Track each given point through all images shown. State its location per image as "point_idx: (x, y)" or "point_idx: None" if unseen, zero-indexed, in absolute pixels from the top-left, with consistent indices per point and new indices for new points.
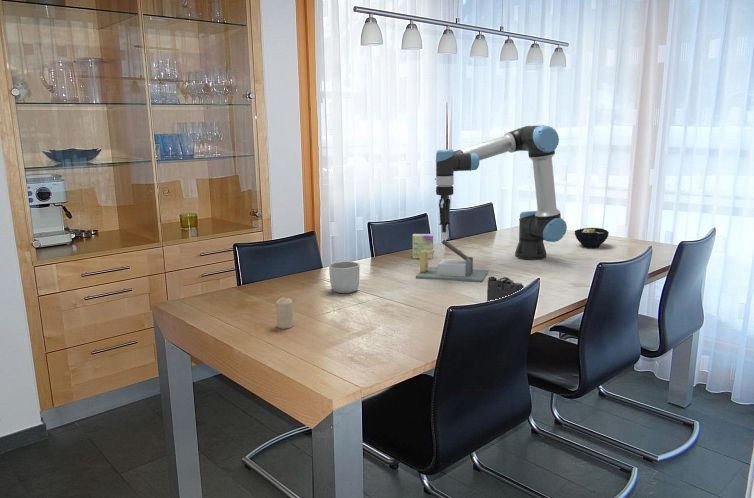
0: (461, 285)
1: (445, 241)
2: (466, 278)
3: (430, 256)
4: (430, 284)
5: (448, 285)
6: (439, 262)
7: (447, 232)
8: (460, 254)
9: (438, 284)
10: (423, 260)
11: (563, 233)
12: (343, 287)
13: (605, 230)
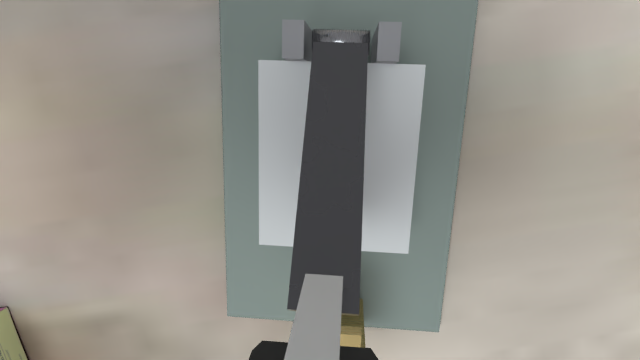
0: (564, 67)
1: None
2: (458, 52)
3: (2, 325)
4: (555, 236)
5: (569, 140)
6: (365, 249)
7: (331, 322)
8: (364, 112)
9: (552, 196)
10: None
11: None
12: None
13: None
